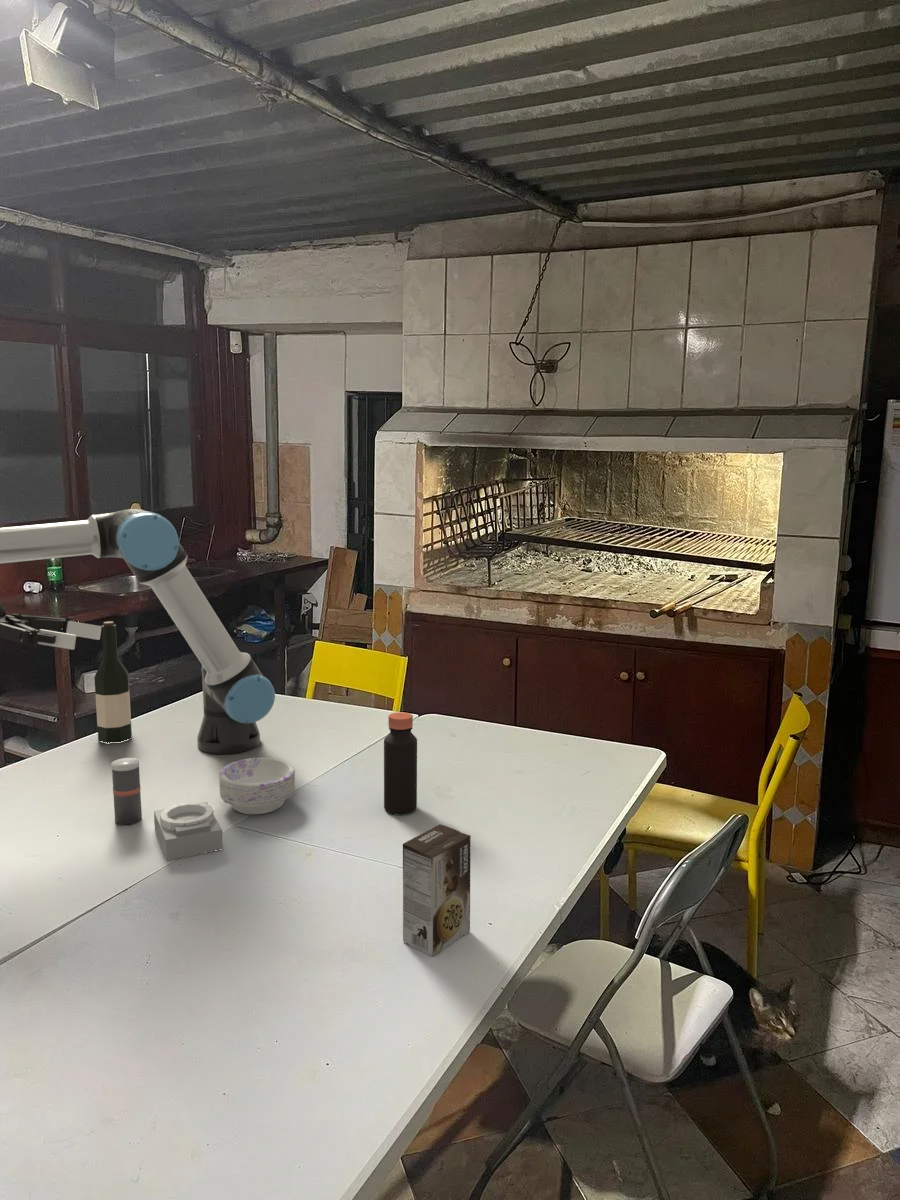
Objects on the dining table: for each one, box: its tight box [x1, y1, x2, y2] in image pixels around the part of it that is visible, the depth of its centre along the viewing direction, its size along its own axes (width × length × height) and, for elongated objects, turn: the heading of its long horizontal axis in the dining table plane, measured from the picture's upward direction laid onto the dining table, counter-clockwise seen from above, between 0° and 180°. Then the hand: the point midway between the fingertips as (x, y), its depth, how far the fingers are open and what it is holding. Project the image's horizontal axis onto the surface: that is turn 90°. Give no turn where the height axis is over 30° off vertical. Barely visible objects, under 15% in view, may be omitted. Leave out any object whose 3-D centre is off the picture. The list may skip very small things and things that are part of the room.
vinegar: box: [383, 711, 418, 816], centre depth 178 cm, size 7×7×20 cm
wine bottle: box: [94, 620, 133, 743], centre depth 218 cm, size 8×8×30 cm
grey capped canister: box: [110, 757, 143, 826], centre depth 172 cm, size 5×5×12 cm
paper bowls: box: [218, 756, 296, 816], centre depth 180 cm, size 15×15×8 cm
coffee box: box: [402, 823, 472, 957], centre depth 132 cm, size 9×6×16 cm
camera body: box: [153, 801, 224, 861], centre depth 165 cm, size 10×14×6 cm
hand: (88, 637), depth 170 cm, fingers open, 13 cm apart
